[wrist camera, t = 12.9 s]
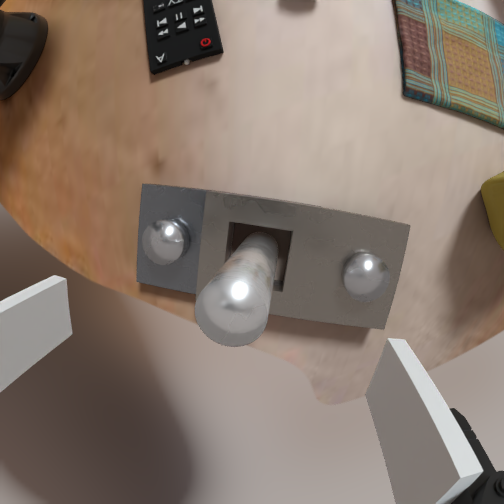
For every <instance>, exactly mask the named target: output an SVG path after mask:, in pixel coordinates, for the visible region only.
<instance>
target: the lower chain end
mask: <svg viewBox="0 0 504 504" xmlns="http://www.w3.org/2000/svg"><path fill="white" fill-rule="evenodd" d="M206 191H212V190H204V189H195V188H186V187H177V186H167V185H157V184H142V193H141V204H140V216H139V231H138V250H137V282H140V283H144V284H149V285H154V286H158V287H163V288H168V289H172V290H177V291H182V292H187V293H192V294H196V288H197V276H198V265H199V254H200V244H201V235H202V225H203V216H204V208H205V199H206ZM215 192H221V191H215ZM223 193H228V192H223ZM231 194H236V193H231ZM239 195H243V194H239ZM246 196H251V195H246ZM253 197H258V196H253ZM260 198H265V197H260ZM267 199H271V198H267ZM274 200H278V199H274ZM280 201H285V200H280ZM287 202H291V201H287ZM293 203H297V202H293ZM299 204H303V203H299ZM305 205H309V204H305ZM311 206H315V205H311ZM317 207H321V206H317ZM234 225H235V222H232V228H231V236H230V244H229V252H228V259H229V258H230V257H231V249H232V241H233V233H234ZM291 236H292V232H291ZM290 242H291V239H290ZM289 248H290V245H289ZM288 254H289V251H288ZM287 260H288V257H287ZM286 266H287V263H286ZM285 272H286V268H285ZM284 278H285V274H284ZM283 283H284V280H283V281H276V280H274V283H273V285H277V286H283Z"/></svg>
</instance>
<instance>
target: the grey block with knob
mask: <svg viewBox="0 0 504 504" xmlns="http://www.w3.org/2000/svg"><path fill="white" fill-rule="evenodd" d="M232 222H237V223H243V224H250V225H257V226H263V227H269V228H276V229H282V230H288V231H292V236H291V242H290V248H289V254H288V260H287V266H286V272H285V278H284V283H283V286H277V285H273V289H272V296H271V302H270V308H269V314H272V315H278V316H284V317H291V318H297V319H304V320H311V321H318V322H325V323H333V324H341V325H349V326H357V327H366V328H375V329H384V328H385V325H386V321H387V318H388V315H389V312H390V308H391V305H392V301H393V298H394V294H395V291H396V287H397V283H398V279H399V275H400V271H401V267H402V263H403V259H404V254H405V250H406V245H407V241H408V236H409V231H410V225H407V224H404V223H400V222H395V221H391V220H386V219H381V218H376V217H371V216H366V215H361V214H356V213H350V212H345V211H340V210H334V209H329V208H323V207H317V206H311V205H305V204H299V203H293V202H287V201H280V200H274V199H267V198H260V197H253V196H246V195H239V194H231V193H223V192H215V191H206V199H205V208H204V216H203V225H202V235H201V244H200V254H199V265H198V276H197V288H196V300H197V298H198V296H199V294H200V293H201V291H202V290H203V289H204V288H205V286H206V285H207V284H208V283H209V282H210V280H211V279H212V278H213V277H214V276H215V274H216V273H217V272H218V271H219V270H220V268H221V267H222V266H223V265H224V264H225V262H226V261H227V260H228V252H229V244H230V236H231V228H232Z"/></svg>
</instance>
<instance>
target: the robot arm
mask: <svg viewBox="0 0 504 504" xmlns="http://www.w3.org/2000/svg"><path fill="white" fill-rule="evenodd" d="M5 1H6V0H0V7H1V5H2V4H3V3H4V2H5ZM47 32H48V24H47V21H46V19H45V18H44V17H42V16H40V15H38V14H36V13H30V12H4V11H2V10H0V100H3V99H6V98H8V97H10V96H11V95H12V94H14V93H15V92H16V91H17V90H18V89H19V88H20V86H21V85H22V84H23V83H24V81H25V80H26V79H27V77H28V76H29V74H30V73H31V71H32V70H33V68H34V66H35V64H36V62H37V60H38V59H39V56H40V54H41V52H42V50H43V47H44V44H45V41H46V37H47ZM70 335H72V328H71V320H70V312H69V304H68V293H67V281H66V279H65V278H62V277H59V276H56V275H54V276H52V277H49V278H47V279H45V280H43V281H41V282H39V283H37V284H35V285H33V286H30V287H28V288H26V289H24V290H22V291H20V292H18V293H16V294H14V295H12V296H10V297H8V298H6V299H4V300H2V301H0V392H1V391H2V390H4V389H5V388H6V387H7V386H8V385H9V384H11V383H12V382H13V381H14V380H15V379H17V378H18V377H19V376H20V375H21V374H23V373H24V372H25V371H26V370H28V369H29V368H30V367H31V366H33V365H34V364H35V363H36V362H38V361H39V360H40V359H41V358H43V357H44V356H45V355H46V354H48V353H49V352H50V351H51V350H52V349H54V348H55V347H56V346H58V345H59V344H60V343H62V342H63V341H64V340H65V339H67V338H68V337H69V336H70ZM365 395H366V398H367V402H368V405H369V408H370V411H371V414H372V418H373V421H374V424H375V428H376V431H377V434H378V438H379V441H380V445H381V448H382V452H383V456H384V459H385V462H386V466H387V470H388V474H389V478H390V482H391V486H392V490H393V494H394V498H395V502H396V504H504V471H498V472H496V470H495V469H494V467H493V465H492V463H491V461H490V460H489V458H488V456H487V454H486V452H485V451H484V449H483V447H482V445H481V444H480V442H479V440H478V439H476V435H475V433H474V432H473V430H472V431H471V427H470V425H469V423H468V422H467V420H466V418H465V417H464V416H463V415H461V414H460V413H459V412H458V411H457V410H456V409H454V408H452V409H449V408H448V406H447V404H446V403H445V401H444V399H443V398H442V396H441V394H440V393H439V391H438V390H437V388H436V386H435V385H434V383H433V382H432V380H431V378H430V377H429V375H428V374H427V372H426V371H425V369H424V368H423V366H422V365H421V363H420V361H419V360H418V358H417V357H416V355H415V354H414V352H413V351H412V349H411V348H410V347H409V345H408V344H407V342H406V341H405V339H392V338H387V341H386V344H385V347H384V349H383V352H382V355H381V357H380V360H379V363H378V365H377V368H376V370H375V373H374V375H373V378H372V380H371V382H370V385H369V387H368V389H367V392H366V394H365Z"/></svg>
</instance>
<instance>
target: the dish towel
mask: <svg viewBox="0 0 504 504" xmlns="http://www.w3.org/2000/svg"><path fill="white" fill-rule="evenodd" d="M392 2H393V7H394V11H395V17H396V24H397V31H398V39H399V47H400V55H401V65H402V72H403V81H404V84H403V87H404V91H403V95H404V96H407V97H411V98H413V99H417V100H420V101H424V102H427V103H431V104H435V105H438V106H441V107H445V108H448V109H452V110H456V111H459V112H462V113H465V114H468V115H470V116H473V117H475V118H478V119H481V120H484V121H487V122H489V123H492V124H493V125H496V126H498V127H500V128H502V129H504V24H502V23H500V22H499V21H497V20H496V19H494V18H492V17H490V16H489V15H487V14H485V13H483V12H481V11H479V10H477V9H475V8H472V7H471V6H468V5H466V4H464V3H461V2H459V1H457V0H392Z"/></svg>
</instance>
